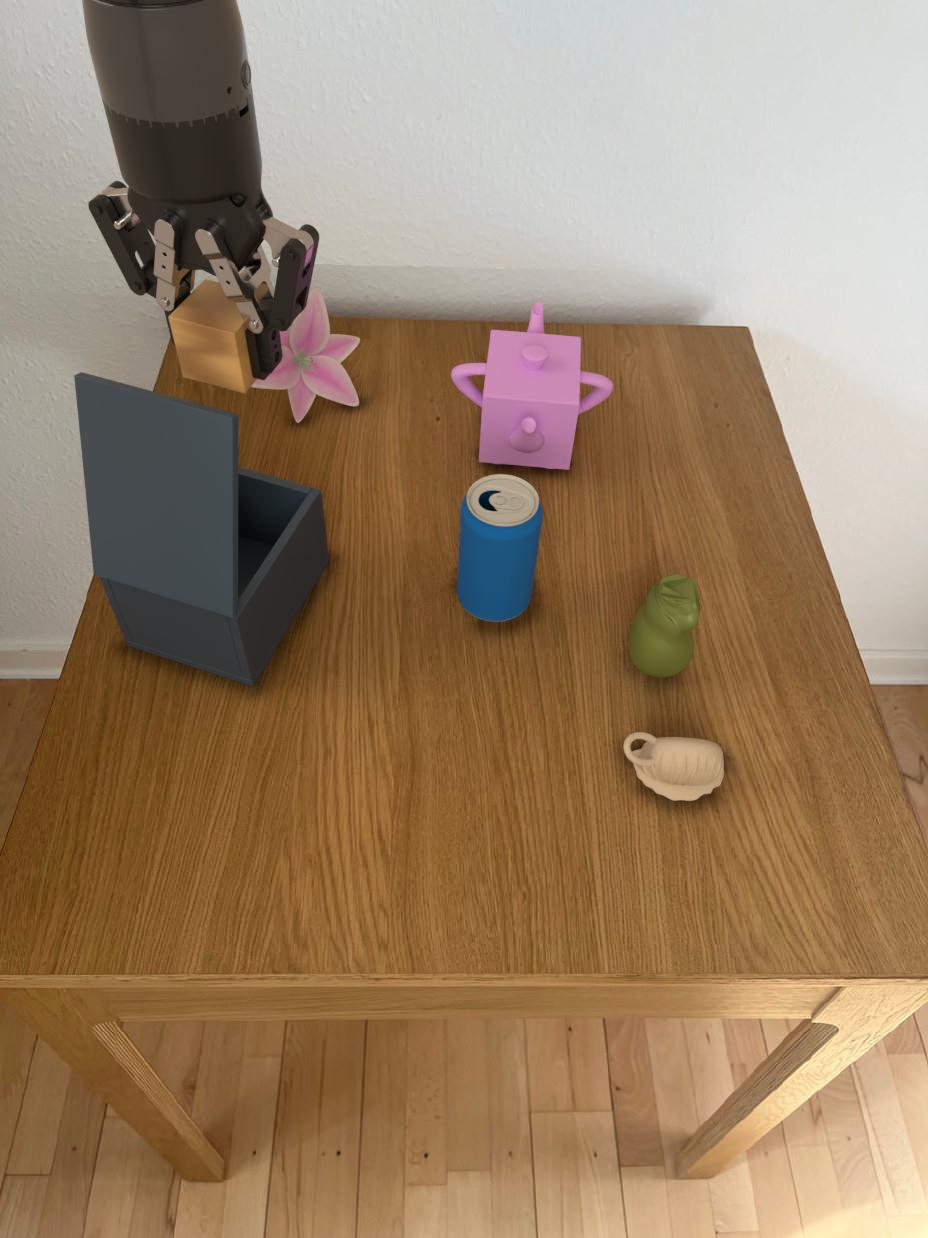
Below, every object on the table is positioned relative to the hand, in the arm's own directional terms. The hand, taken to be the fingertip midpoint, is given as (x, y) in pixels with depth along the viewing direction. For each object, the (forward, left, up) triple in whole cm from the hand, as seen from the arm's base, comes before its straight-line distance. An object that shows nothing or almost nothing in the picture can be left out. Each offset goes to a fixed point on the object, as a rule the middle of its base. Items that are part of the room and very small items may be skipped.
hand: (230, 361), depth 61 cm
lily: (+7, +27, -25) cm, 38 cm away
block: (0, 0, 0) cm, 0 cm away
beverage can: (+18, -4, -25) cm, 32 cm away
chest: (-4, +1, -25) cm, 25 cm away
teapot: (+27, +15, -25) cm, 40 cm away
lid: (-6, -2, -9) cm, 11 cm away
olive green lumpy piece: (+29, -14, -25) cm, 41 cm away
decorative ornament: (+26, -24, -25) cm, 43 cm away
